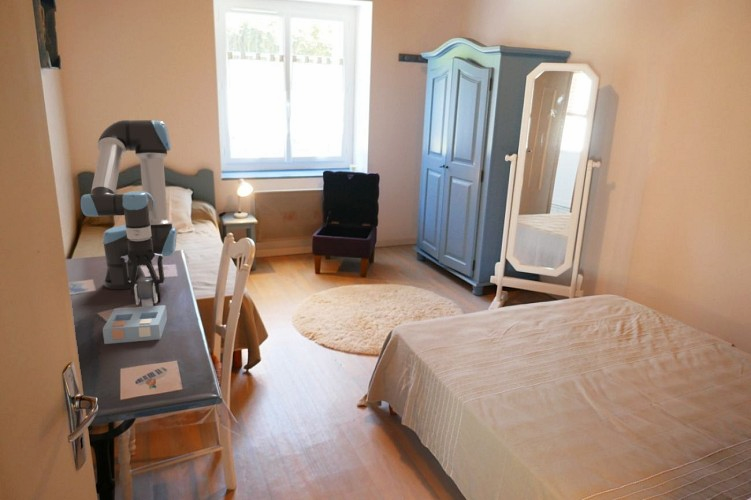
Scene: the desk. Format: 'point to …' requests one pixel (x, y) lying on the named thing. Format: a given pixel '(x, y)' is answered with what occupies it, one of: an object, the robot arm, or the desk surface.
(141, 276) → the battery
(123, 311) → the socket board
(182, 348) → the desk surface
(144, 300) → the grey piece
